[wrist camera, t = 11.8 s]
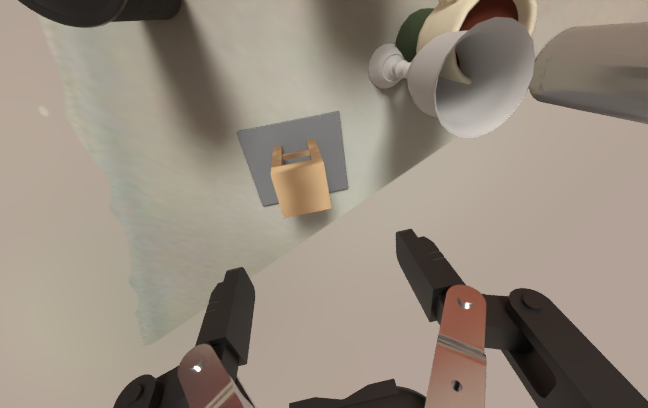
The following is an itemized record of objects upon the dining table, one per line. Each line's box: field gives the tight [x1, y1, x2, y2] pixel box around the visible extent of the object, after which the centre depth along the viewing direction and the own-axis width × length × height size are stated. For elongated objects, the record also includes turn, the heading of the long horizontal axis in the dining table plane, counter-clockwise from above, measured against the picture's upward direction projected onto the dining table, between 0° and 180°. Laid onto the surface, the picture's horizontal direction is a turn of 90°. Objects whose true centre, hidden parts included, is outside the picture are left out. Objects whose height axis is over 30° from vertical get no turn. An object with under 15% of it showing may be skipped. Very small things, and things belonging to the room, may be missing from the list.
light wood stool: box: [271, 139, 331, 218], centre depth 32 cm, size 6×6×9 cm
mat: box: [237, 111, 348, 206], centre depth 36 cm, size 14×12×1 cm
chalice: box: [368, 17, 535, 138], centre depth 24 cm, size 7×7×18 cm
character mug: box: [396, 0, 537, 85], centre depth 25 cm, size 11×7×13 cm, turn 37°
